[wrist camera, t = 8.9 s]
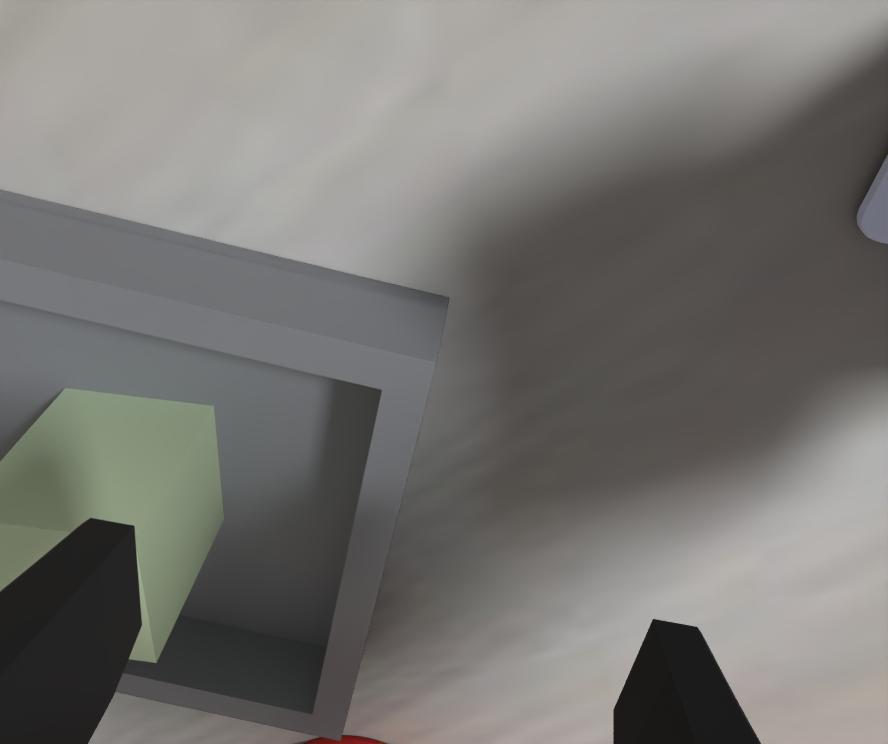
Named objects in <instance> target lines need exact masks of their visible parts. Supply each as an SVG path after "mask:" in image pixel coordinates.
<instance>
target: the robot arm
mask: <svg viewBox="0 0 888 744" xmlns="http://www.w3.org/2000/svg"><path fill="white" fill-rule="evenodd" d="M856 218H857V225H858V227H859V228H860V229H861V231H862V232H863V233H864V234H865V236H866V237H868V238H870V239H872V240H874V241H877V242H881V243H885V244H888V155H887V157H886V159H885V161H884V162H883V164H882V166H881V168H880V170H879V172H878V174H877V176H876V178H875V179H874V181H873V183H872V185H871V187H870V189H869V191H868V193H867V195H866V196H865V198H864V200H863V202H862V204H861V206H860V208H859V210H858V214H857V217H856ZM141 626H142V618H141V605H140V592H139V579H138V566H137V553H136V540H135V527H134V525H128V524H122V523H117V522H111V521H106V520H100V519H95V518H90V519H88V520H86V521H85V522H83V523H82V524H81V525H80V526H78V527H77V528H76V529H75V530H74V531H72V532H71V533H70V534H69V535H68V536H66V537H65V538H64V539H63V540H62V541H60V542H59V543H58V544H57V545H56V546H54V547H53V548H52V549H51V550H50V551H49V552H47V553H46V554H45V555H44V556H43V557H41V558H40V559H39V560H38V561H37V562H35V563H34V564H33V565H32V566H31V567H29V568H28V569H27V570H26V571H24V572H23V573H22V574H21V575H20V576H18V577H17V578H16V579H15V580H13V581H12V582H11V583H10V584H9V585H7V586H6V587H5V588H4V589H2V590H1V591H0V744H88V742H89V741H90V739H91V737H92V735H93V733H94V731H95V729H96V728H97V726H98V724H99V722H100V720H101V718H102V716H103V715H104V713H105V711H106V709H107V707H108V705H109V703H110V701H111V699H112V698H113V696H114V693H115V691H116V688H117V686H118V684H119V681H120V679H121V676H122V674H123V672H124V669H125V667H126V664H127V662H128V659H129V657H130V654H131V652H132V649H133V647H134V644H135V642H136V639H137V637H138V634H139V631H140V629H141ZM614 744H761V743H760V741H759V739H758V737H757V736H756V734H755V732H754V730H753V729H752V727H751V725H750V723H749V721H748V719H747V718H746V716H745V714H744V712H743V710H742V709H741V707H740V705H739V703H738V701H737V699H736V698H735V696H734V694H733V692H732V690H731V688H730V686H729V684H728V683H727V681H726V679H725V677H724V675H723V673H722V671H721V669H720V667H719V666H718V664H717V662H716V660H715V658H714V656H713V654H712V652H711V650H710V648H709V646H708V645H707V643H706V641H705V639H704V637H703V635H702V633H701V632H700V630H699V629H698V628H697V627H694V626H689V625H683V624H678V623H672V622H667V621H661V620H656V619H653V620H652V623H651V625H650V627H649V630H648V632H647V634H646V637H645V639H644V641H643V643H642V646H641V648H640V650H639V653H638V655H637V657H636V660H635V662H634V664H633V666H632V669H631V671H630V673H629V676H628V678H627V680H626V683H625V685H624V687H623V689H622V692H621V694H620V696H619V699H618V701H617V703H616V706H615V708H614Z"/></svg>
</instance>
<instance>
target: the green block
mask: <svg viewBox="0 0 888 744" xmlns="http://www.w3.org/2000/svg"><path fill="white" fill-rule="evenodd" d="M90 518H95V519H100V520H106V521H111V522H117V523H122V524H128V525H134V527H135V540H136V553H137V566H138V579H139V592H140V605H141V618H142V626H141V629H140V631H139V634H138V637H137V639H136V642H135V644H134V647H133V649H132V652H131V654H130V657H129V659H131V660H138V661H146V662H153V663H157V660H158V658H159V656H160V654H161V652H162V650H163V648H164V646H165V643H166V641H167V639H168V637H169V635H170V633H171V631H172V629H173V626H174V624H175V622H176V620H177V618H178V616H179V614H180V612H181V609H182V607H183V605H184V603H185V601H186V599H187V597H188V595H189V592H190V590H191V588H192V586H193V584H194V582H195V580H196V578H197V575H198V573H199V571H200V569H201V567H202V565H203V563H204V561H205V558H206V556H207V554H208V552H209V550H210V548H211V546H212V544H213V541H214V539H215V537H216V535H217V533H218V531H219V529H220V527H221V525H222V522H223V520H224V512H223V501H222V490H221V479H220V468H219V457H218V446H217V436H216V425H215V414H214V406H210V405H202V404H194V403H185V402H177V401H169V400H160V399H152V398H144V397H135V396H127V395H119V394H110V393H102V392H94V391H86V390H77V389H69V388H65V389H64V390H63V391H62V392H61V393H60V395H59V396H58V397H57V398H56V399H55V400H54V401H53V403H52V404H51V405H50V406H49V407H48V408H47V409H46V410H45V412H44V413H43V414H42V415H41V416H40V417H39V418H38V419H37V421H36V422H35V423H34V424H33V425H32V426H31V427H30V428H29V430H28V431H27V432H26V433H25V434H24V435H23V436H22V437H21V439H20V440H19V441H18V442H17V443H16V444H15V445H14V447H13V448H12V449H11V450H10V451H9V452H8V453H7V454H6V456H5V457H4V458H3V459H2V460H1V461H0V591H1V590H2V589H4V588H5V587H6V586H7V585H9V584H10V583H11V582H12V581H13V580H15V579H16V578H17V577H18V576H20V575H21V574H22V573H23V572H24V571H26V570H27V569H28V568H29V567H31V566H32V565H33V564H34V563H35V562H37V561H38V560H39V559H40V558H41V557H43V556H44V555H45V554H46V553H47V552H49V551H50V550H51V549H52V548H53V547H54V546H56V545H57V544H58V543H59V542H60V541H62V540H63V539H64V538H65V537H66V536H68V535H69V534H70V533H71V532H72V531H74V530H75V529H76V528H77V527H78V526H80V525H81V524H82V523H83V522H85V521H86V520H88V519H90Z"/></svg>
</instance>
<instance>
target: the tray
mask: <svg viewBox="0 0 888 744" xmlns="http://www.w3.org/2000/svg"><path fill="white" fill-rule="evenodd" d="M448 302H449V298H448V297H443V296H439V295H435V294H431V293H427V292H423V291H419V290H414V289H410V288H406V287H402V286H398V285H394V284H389V283H385V282H381V281H377V280H373V279H369V278H365V277H360V276H356V275H352V274H348V273H344V272H340V271H335V270H331V269H327V268H323V267H319V266H315V265H311V264H306V263H302V262H298V261H294V260H290V259H286V258H281V257H277V256H273V255H269V254H265V253H261V252H256V251H252V250H248V249H244V248H240V247H236V246H232V245H227V244H223V243H219V242H215V241H211V240H207V239H202V238H198V237H194V236H190V235H186V234H182V233H178V232H173V231H169V230H165V229H161V228H157V227H153V226H148V225H144V224H140V223H136V222H132V221H128V220H123V219H119V218H115V217H111V216H107V215H103V214H99V213H94V212H90V211H86V210H82V209H78V208H74V207H69V206H65V205H61V204H57V203H53V202H49V201H45V200H40V199H36V198H32V197H28V196H24V195H20V194H15V193H11V192H7V191H3V190H0V461H1V460H2V459H3V458H4V457H5V456H6V454H7V453H8V452H9V451H10V450H11V449H12V448H13V447H14V445H15V444H16V443H17V442H18V441H19V440H20V439H21V437H22V436H23V435H24V434H25V433H26V432H27V431H28V430H29V428H30V427H31V426H32V425H33V424H34V423H35V422H36V421H37V419H38V418H39V417H40V416H41V415H42V414H43V413H44V412H45V410H46V409H47V408H48V407H49V406H50V405H51V404H52V403H53V401H54V400H55V399H56V398H57V397H58V396H59V395H60V393H61V392H62V391H63V390H64V389H65V388H69V389H77V390H86V391H94V392H102V393H110V394H119V395H127V396H135V397H144V398H152V399H160V400H169V401H177V402H185V403H194V404H202V405H210V406H214V414H215V425H216V436H217V446H218V457H219V468H220V479H221V490H222V501H223V512H224V520H223V522H222V525H221V527H220V529H219V531H218V533H217V535H216V537H215V539H214V541H213V544H212V546H211V548H210V550H209V552H208V554H207V556H206V558H205V561H204V563H203V565H202V567H201V569H200V571H199V573H198V575H197V578H196V580H195V582H194V584H193V586H192V588H191V590H190V592H189V595H188V597H187V599H186V601H185V603H184V605H183V607H182V609H181V612H180V614H179V616H178V618H177V620H176V622H175V624H174V626H173V629H172V631H171V633H170V635H169V637H168V639H167V641H166V643H165V646H164V648H163V650H162V652H161V654H160V656H159V658H158V660H157V663H153V662H146V661H138V660H131V659H128V662H127V664H126V667H125V669H124V672H123V674H122V676H121V679H120V681H119V684H118V686H117V688H116V691H115V692H119V693H123V694H128V695H132V696H137V697H142V698H146V699H151V700H155V701H160V702H164V703H169V704H173V705H178V706H183V707H187V708H192V709H196V710H201V711H205V712H210V713H214V714H219V715H224V716H228V717H233V718H237V719H242V720H246V721H251V722H256V723H260V724H265V725H269V726H274V727H278V728H283V729H287V730H292V731H297V732H301V733H306V734H310V735H315V736H319V737H324V738H328V739H333V740H338V741H341V737H342V733H343V729H344V726H345V722H346V718H347V714H348V710H349V706H350V702H351V698H352V694H353V690H354V686H355V682H356V678H357V674H358V670H359V666H360V662H361V659H362V655H363V651H364V647H365V643H366V639H367V635H368V631H369V627H370V623H371V619H372V615H373V611H374V607H375V603H376V599H377V595H378V592H379V588H380V584H381V580H382V576H383V572H384V568H385V564H386V560H387V556H388V552H389V548H390V544H391V540H392V536H393V532H394V529H395V525H396V521H397V517H398V513H399V509H400V505H401V501H402V497H403V493H404V489H405V485H406V481H407V477H408V473H409V469H410V465H411V462H412V458H413V454H414V450H415V446H416V442H417V438H418V434H419V430H420V426H421V422H422V418H423V414H424V410H425V406H426V402H427V398H428V395H429V391H430V387H431V383H432V379H433V375H434V371H435V367H436V363H437V358H438V353H439V348H440V343H441V338H442V333H443V327H444V322H445V317H446V312H447V307H448Z"/></svg>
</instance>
